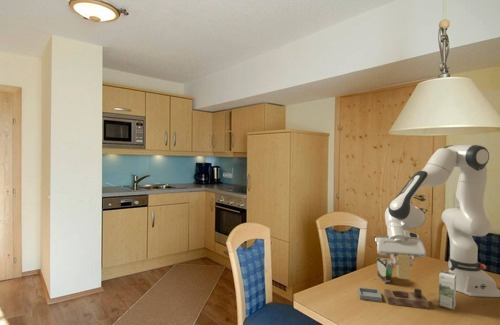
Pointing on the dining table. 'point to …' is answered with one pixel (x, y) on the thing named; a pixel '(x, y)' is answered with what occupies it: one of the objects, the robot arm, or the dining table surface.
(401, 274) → the gold rectangular block
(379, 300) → the tray
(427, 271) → the dining table surface
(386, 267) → the food container
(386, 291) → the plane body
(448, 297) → the syrup box
